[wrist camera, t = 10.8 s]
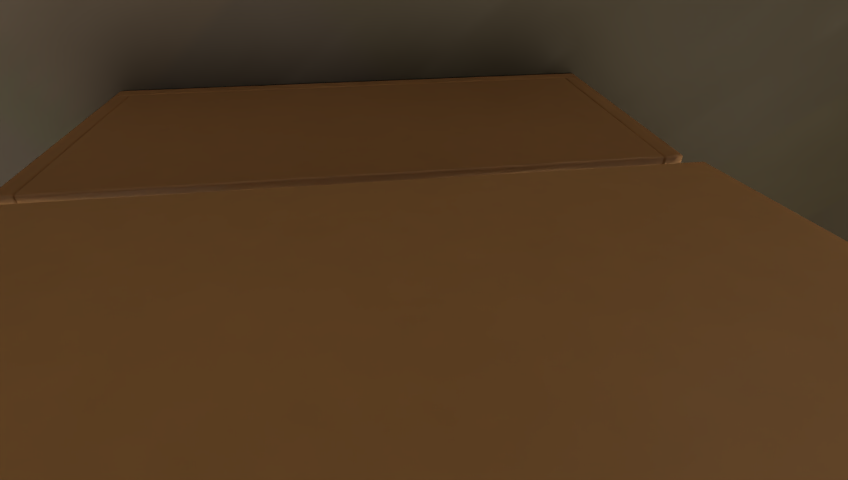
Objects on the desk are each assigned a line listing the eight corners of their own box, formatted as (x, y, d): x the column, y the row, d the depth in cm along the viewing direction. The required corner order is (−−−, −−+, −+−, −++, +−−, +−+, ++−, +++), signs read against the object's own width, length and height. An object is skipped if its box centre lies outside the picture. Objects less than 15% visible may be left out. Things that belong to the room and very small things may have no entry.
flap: (-31, 225, 8) (-41, 205, 8) (698, 178, 9) (704, 160, 9) (-865, 788, 2) (-962, 766, 2) (1193, 481, 4) (1229, 451, 4)
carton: (120, 90, 13) (-43, 219, 8) (572, 72, 14) (706, 172, 9) (228, 394, 20) (184, 571, 15) (523, 364, 22) (582, 517, 16)
